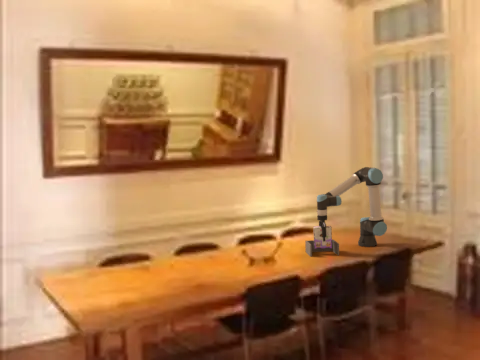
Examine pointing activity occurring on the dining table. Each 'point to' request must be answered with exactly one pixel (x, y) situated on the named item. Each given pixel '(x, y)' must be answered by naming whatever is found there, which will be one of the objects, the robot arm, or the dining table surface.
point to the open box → (310, 248)
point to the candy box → (319, 237)
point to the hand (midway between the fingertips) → (322, 244)
